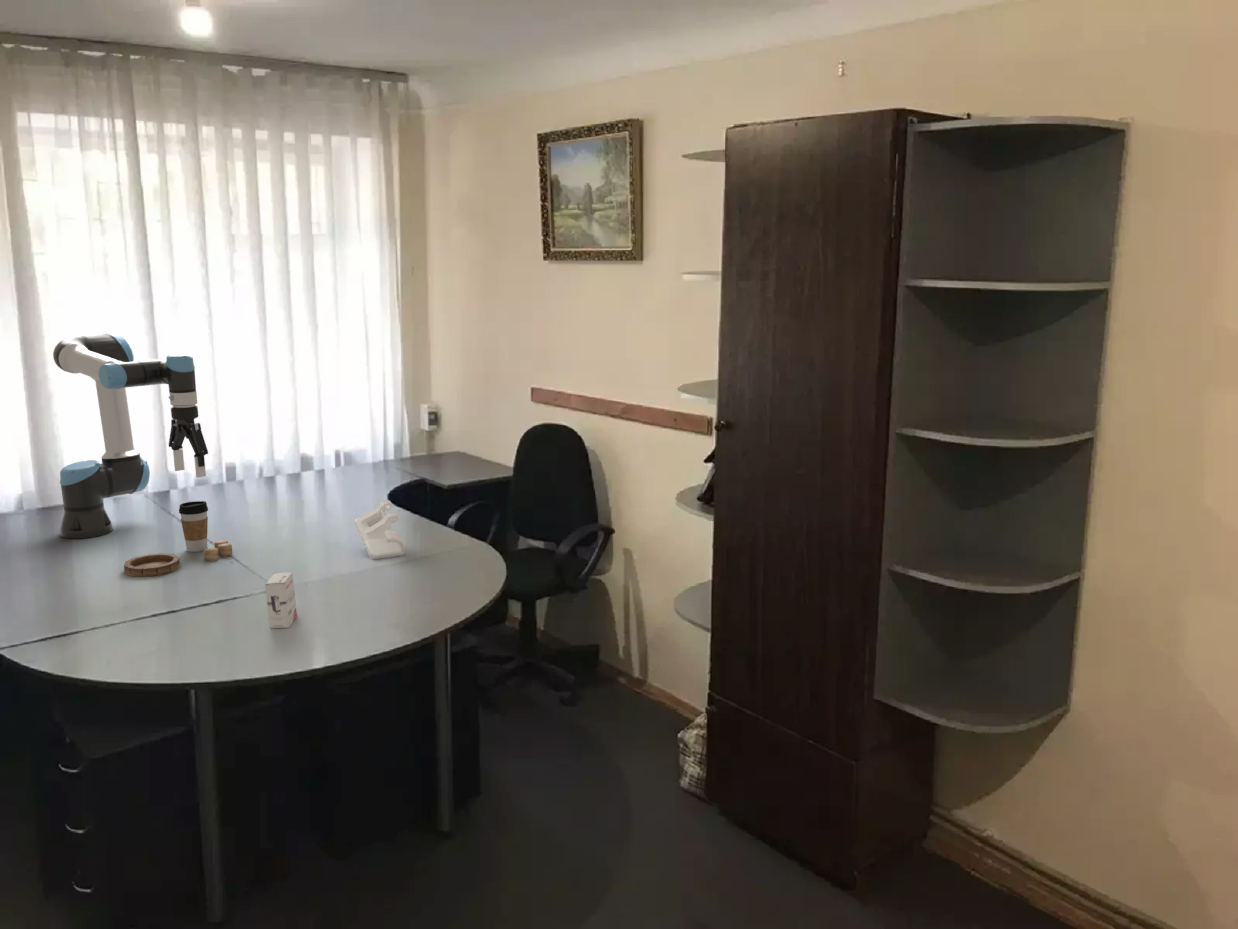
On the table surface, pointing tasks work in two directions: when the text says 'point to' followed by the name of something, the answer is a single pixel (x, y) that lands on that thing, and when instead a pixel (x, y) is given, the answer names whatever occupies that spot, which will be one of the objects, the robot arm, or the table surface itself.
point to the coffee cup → (194, 524)
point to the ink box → (281, 600)
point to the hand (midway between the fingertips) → (190, 473)
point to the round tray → (152, 565)
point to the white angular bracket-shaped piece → (380, 532)
